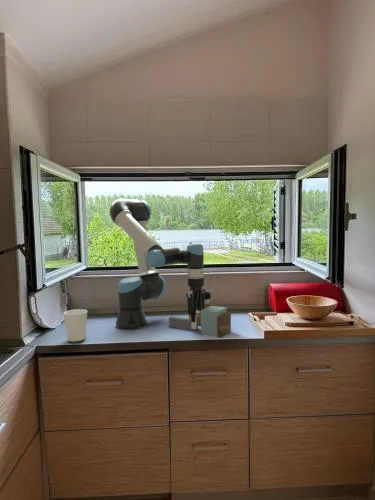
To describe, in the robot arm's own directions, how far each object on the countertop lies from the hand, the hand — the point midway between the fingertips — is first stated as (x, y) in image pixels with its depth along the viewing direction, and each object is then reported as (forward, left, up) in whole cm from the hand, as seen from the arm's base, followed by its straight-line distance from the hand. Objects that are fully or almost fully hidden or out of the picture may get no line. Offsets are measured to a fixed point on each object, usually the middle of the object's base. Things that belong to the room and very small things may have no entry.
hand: (196, 327), depth 160 cm
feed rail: (-7, 0, -1) cm, 8 cm away
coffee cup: (-4, +13, -2) cm, 14 cm away
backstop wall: (+14, 0, -1) cm, 14 cm away
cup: (-39, -37, -2) cm, 54 cm away
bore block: (+9, 0, -1) cm, 9 cm away
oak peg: (+4, 0, +3) cm, 5 cm away
